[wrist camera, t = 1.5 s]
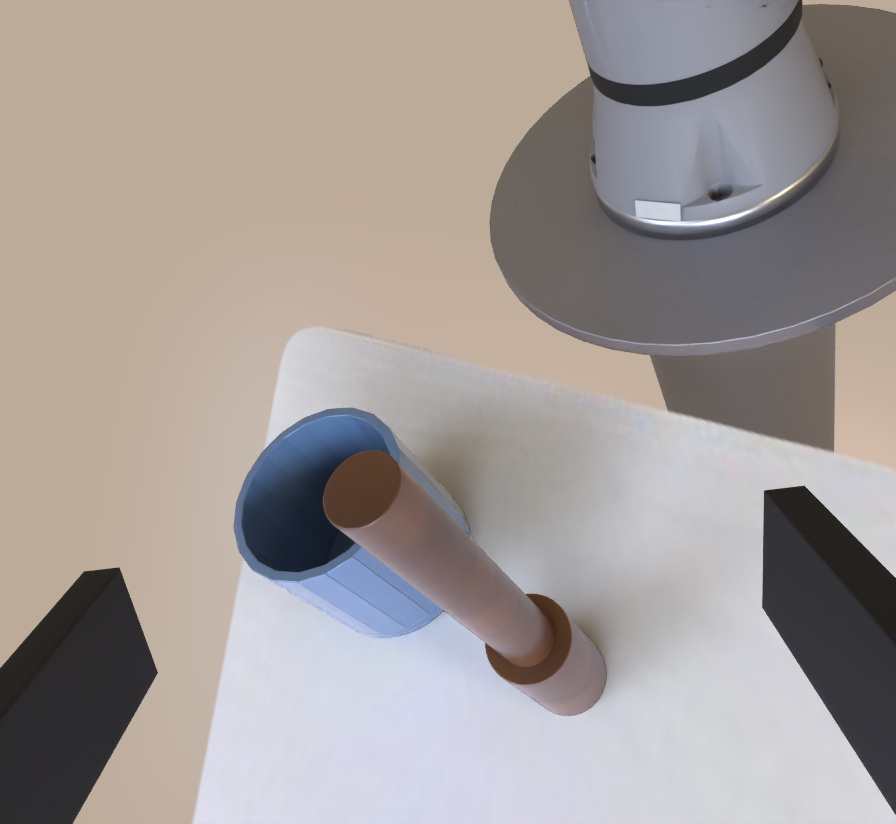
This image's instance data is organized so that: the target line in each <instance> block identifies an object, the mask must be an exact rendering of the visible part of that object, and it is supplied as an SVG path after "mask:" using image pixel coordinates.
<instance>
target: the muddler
mask: <svg viewBox="0 0 896 824" xmlns="http://www.w3.org/2000/svg"><path fill="white" fill-rule="evenodd" d="M323 507H324V511H325V514H326V517H327V519H328V520H329V521H330V523H331V524H333V525H334V526H335V527H336V528H338V529H339V530H340V531H341V532H343V533H344V534H345V535H347V536H348V537H349V538H350V539H352V540H353V541H354V542H356V543H357V544H358V545H360V546H361V547H362V548H363V549H365V550H366V551H367V552H369V553H370V554H371V555H372V556H374V557H375V558H376V559H378V560H379V561H380V562H382V563H383V564H384V565H385V566H387V567H388V568H389V569H391V570H392V571H393V572H394V573H396V574H397V575H398V576H400V577H401V578H402V579H403V580H405V581H406V582H407V583H409V584H410V585H411V586H413V587H414V588H415V589H416V590H418V591H419V592H420V593H422V594H423V595H424V596H425V597H427V598H428V599H429V600H431V601H432V602H433V603H435V604H436V605H437V606H438V607H440V608H441V609H442V610H444V611H445V612H446V613H447V614H449V615H450V616H451V617H453V618H454V619H455V620H457V621H458V622H459V623H460V624H462V625H463V626H464V627H466V628H467V629H468V630H469V631H471V632H472V633H473V634H475V635H476V636H477V637H479V638H480V639H481V640H482V641H484V642H485V648H486V653H487V657H488V660H489V662H490V664H491V666H492V667H493V669H494V670H495V671H496V673H497V674H498V675H499V676H501V677H502V678H503V679H505V680H506V681H507V682H509V683H510V684H512V685H513V686H515V687H516V688H517V689H519V690H520V691H522V692H523V693H524V694H526V695H527V696H529V697H530V698H532V699H533V700H534V701H536V702H537V703H539V704H540V705H541V706H543V707H544V708H546V709H547V710H549V711H551V712H553V713H555V714H558V715H563V716H571V715H577V714H580V713H582V712H585V711H586V710H588V709H589V708H591V707H592V706H593V705H594V704H595V703H596V702H597V701H598V699H599V698H600V696H601V694H602V692H603V690H604V687H605V683H606V665H605V662H604V659H603V656H602V654H601V653H600V651H599V650H598V648H597V647H596V646H595V645H594V644H593V642H592V641H591V640H590V639H589V638H588V637H587V636H586V635H585V633H584V632H583V631H582V630H581V629H580V628H579V627H578V626H577V624H576V623H575V622H574V621H573V620H572V619H571V618H570V617H569V615H568V614H567V613H566V612H565V611H564V610H563V609H562V608H561V607H560V606H559V604H557V603H556V602H555V601H554V600H552V599H550V598H548V597H546V596H543V595H539V594H525V593H524V592H523V591H522V590H521V589H520V588H519V587H518V586H517V585H516V584H515V583H514V582H513V581H512V580H511V579H510V578H509V577H508V576H507V575H506V574H505V573H504V572H503V571H502V570H501V569H500V567H499V566H498V565H497V564H496V563H495V562H494V561H493V560H492V559H491V558H490V557H489V556H488V555H487V554H486V553H485V552H484V551H483V550H482V549H481V548H480V547H479V546H478V545H477V544H476V543H475V542H474V541H473V540H472V538H471V537H470V536H469V535H468V534H467V533H466V532H465V531H464V530H463V529H462V528H461V527H460V526H459V525H458V524H457V523H456V522H455V521H454V520H453V519H452V518H451V517H450V516H449V515H448V514H447V513H446V512H445V511H444V510H443V508H442V507H441V506H440V505H439V504H438V503H437V502H436V501H435V500H434V499H433V498H432V497H431V496H430V495H429V494H428V493H427V492H426V491H425V490H424V489H423V488H422V487H421V486H420V485H419V484H418V483H417V482H416V481H415V480H414V478H413V477H412V476H411V475H410V474H409V473H408V472H407V471H406V470H405V469H404V468H403V467H402V466H401V465H400V464H399V463H398V462H397V461H396V460H395V459H394V458H393V457H392V456H391V455H389V454H387V453H385V452H382V451H377V450H368V451H363V452H360V453H357V454H355V455H353V456H351V457H350V458H348V459H346V460H345V461H344V462H343V463H342V464H341V465H339V466H338V468H337V469H336V470H335V471H334V472H333V474H332V475H331V477H330V479H329V480H328V482H327V485H326V487H325V491H324V495H323Z"/></svg>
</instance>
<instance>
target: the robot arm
mask: <svg viewBox="0 0 896 824" xmlns="http://www.w3.org/2000/svg"><path fill="white" fill-rule="evenodd" d="M569 2H570V6H571V9H572V13H573V16H574V20H575V23H576V27H577V30H578V33H579V37H580V40H581V44H582V47H583V50H584V54H585V57H586V61H587V63H588V67H589V71H590V74H591V78H592V82H593V86H594V98H593V117H592V127H593V139H592V143H591V148H590V160H589V163H590V176H591V180H592V183H593V186H594V190H595V193H596V196H597V199H598V202H599V204H600V206H601V208H602V209H603V211H604V212H605V213H606V215H607V216H608V217H609V218H610V219H611V220H613V221H614V222H615V223H617V224H618V225H619V226H621V227H623V228H625V229H626V230H629V231H631V232H633V233H636V234H639V235H642V236H646V237H651V238H656V239H663V240H696V239H705V238H711V237H716V236H721V235H725V234H729V233H733V232H736V231H739V230H742V229H745V228H748V227H751V226H753V225H756V224H758V223H760V222H762V221H765V220H767V219H769V218H771V217H773V216H774V215H776V214H778V213H780V212H781V211H783V210H785V209H786V208H788V207H790V206H791V205H792V204H794V203H795V202H797V201H798V200H799V199H801V198H802V197H803V196H804V195H805V194H806V193H808V192H809V191H810V190H811V189H812V188H813V187H814V186H815V185H816V184H817V183H818V181H819V180H820V179H821V178H822V177H823V175H824V174H825V173H826V171H827V170H828V168H829V167H830V165H831V163H832V161H833V159H834V157H835V154H836V151H837V149H838V144H839V134H840V108H839V102H838V99H837V96H836V92H835V89H834V87H833V85H832V83H831V82H830V80H829V78H828V76H827V74H826V73H825V72H824V71H823V69H822V66H823V62H822V60H821V59H820V58H818V56H817V53H816V51H815V48H814V46H813V43H812V41H811V39H810V36H809V34H808V31H807V29H806V27H805V24H804V21H803V12H802V0H569ZM762 608H763V609H764V611H765V612H766V614H767V615H768V617H769V618H770V620H771V622H772V623H773V625H774V626H775V628H776V629H777V631H778V632H779V634H780V636H781V637H782V639H783V640H784V642H785V643H786V645H787V646H788V648H789V650H790V651H791V653H792V654H793V656H794V657H795V659H796V660H797V662H798V664H799V665H800V667H801V668H802V670H803V671H804V673H805V674H806V676H807V678H808V679H809V681H810V682H811V684H812V685H813V687H814V688H815V690H816V692H817V693H818V695H819V696H820V698H821V699H822V701H823V702H824V704H825V706H826V707H827V709H828V710H829V712H830V713H831V715H832V716H833V718H834V720H835V721H836V723H837V724H838V726H839V727H840V729H841V730H842V732H843V734H844V735H845V737H846V738H847V740H848V741H849V743H850V745H851V746H852V748H853V749H854V751H855V752H856V754H857V755H858V757H859V759H860V760H861V762H862V763H863V765H864V766H865V768H866V769H867V771H868V773H869V774H870V776H871V777H872V779H873V780H874V782H875V783H876V785H877V787H878V788H879V790H880V791H881V793H882V794H883V796H884V797H885V799H886V801H887V802H888V804H889V805H890V807H891V808H892V810H893V811H894V813H895V815H896V578H895V577H894V576H893V575H892V574H891V573H890V572H889V571H888V570H887V569H886V568H885V567H884V566H883V565H882V564H881V563H880V562H879V561H878V560H877V559H876V558H875V557H874V556H873V555H872V554H871V553H870V552H869V551H868V550H867V549H866V548H865V547H864V546H863V545H862V544H861V543H860V542H859V541H858V540H857V539H856V538H855V537H854V536H853V535H852V534H851V533H850V531H849V530H848V529H847V528H846V527H845V526H844V525H843V524H842V523H841V522H840V521H839V520H838V519H837V518H836V517H835V516H834V515H833V514H832V513H831V512H830V511H829V510H828V509H827V508H826V507H825V506H824V505H823V504H822V503H821V502H820V501H819V500H818V499H817V498H816V497H815V496H814V495H813V494H812V493H811V492H810V491H809V490H808V489H807V488H806V487H805V486H799V487H790V488H782V489H774V490H765V491H764V535H763V599H762ZM157 673H158V672H157V669H156V667H155V664H154V661H153V658H152V655H151V653H150V650H149V647H148V645H147V642H146V639H145V636H144V633H143V631H142V628H141V625H140V623H139V620H138V617H137V614H136V612H135V609H134V606H133V603H132V601H131V598H130V595H129V593H128V590H127V587H126V584H125V582H124V579H123V576H122V573H121V571H120V568H111V569H103V570H94V571H86V572H83V574H82V575H81V576H80V577H79V578H78V579H77V580H76V582H75V583H74V584H73V585H72V586H71V587H70V589H69V590H68V591H67V592H66V593H65V594H64V595H63V597H62V598H61V599H60V600H59V601H58V602H57V604H56V605H55V606H54V607H53V608H52V609H51V610H50V612H49V613H48V614H47V615H46V616H45V617H44V618H43V620H42V621H41V622H40V623H39V624H38V625H37V627H36V628H35V629H34V630H33V631H32V632H31V634H30V635H29V636H28V637H27V638H26V639H25V640H24V641H23V643H22V644H21V645H20V646H19V647H18V648H17V650H16V651H15V652H14V653H13V654H12V655H11V656H10V658H9V659H8V660H7V661H6V662H5V663H4V665H3V666H2V667H1V668H0V824H73V822H74V820H75V818H76V816H77V815H78V813H79V811H80V809H81V808H82V806H83V804H84V802H85V801H86V799H87V797H88V795H89V793H90V792H91V790H92V788H93V786H94V785H95V783H96V781H97V780H98V778H99V776H100V774H101V772H102V771H103V769H104V767H105V765H106V763H107V762H108V760H109V758H110V757H111V755H112V753H113V751H114V749H115V748H116V746H117V744H118V742H119V741H120V739H121V737H122V735H123V733H124V732H125V730H126V728H127V727H128V725H129V723H130V721H131V719H132V718H133V716H134V714H135V712H136V711H137V709H138V707H139V705H140V704H141V702H142V700H143V698H144V696H145V695H146V693H147V691H148V689H149V688H150V686H151V684H152V682H153V680H154V679H155V677H156V675H157Z"/></svg>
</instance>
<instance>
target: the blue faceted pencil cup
mask: <svg viewBox="0 0 896 824" xmlns="http://www.w3.org/2000/svg"><path fill="white" fill-rule="evenodd" d="M368 450H377V451H382V452H385V453H387V454H389V455H391V456H392V457H393V458H394V459H395V460H396V461H397V462H398V463H399V464H400V465H401V466H402V467H403V468H404V469H405V470H406V471H407V472H408V473H409V474H410V475H411V476H412V477H413V478H414V480H415V481H416V482H417V483H418V484H419V485H420V486H421V487H422V488H423V489H424V490H425V491H426V492H427V493H428V494H429V495H430V496H431V497H432V498H433V499H434V500H435V501H436V502H437V503H438V504H439V505H440V506H441V507H442V508H443V510H444V511H445V512H446V513H447V514H448V515H449V516H450V517H451V518H452V519H453V520H454V521H455V522H456V523H457V524H458V525H459V526H460V527H461V528H462V529H463V530H464V531H465V532H466V533H467V534H468V535H469V536H470V537H471V534H470V528H469V525H468V521H467V519H466V517H465V514H464V512H463V511H462V509H461V508H460V506H459V505H458V503H457V502H456V501H455V499H454V498H453V497H452V496H451V495H450V494H449V492H448V491H447V490H446V489H445V488H444V487H443V486H442V485H441V484H440V483H439V482H438V480H437V479H436V478H435V477H434V476H433V475H432V474H431V473H430V472H429V471H428V470H427V468H426V467H425V466H424V465H423V464H422V463H421V462H420V461H419V460H418V459H417V457H416V456H415V455H414V454H413V453H412V452H411V451H410V450H409V449H408V448H407V447H406V445H405V444H404V443H403V442H402V441H401V440H400V439H399V438H398V437H397V436H396V435H395V433H394V432H393V431H392V430H391V429H390V428H389V427H388V426H387V425H386V424H384V423H383V422H382V421H381V420H380V419H379V418H377V417H376V416H375V415H374V414H372V413H369V412H365V411H362V410H358V409H355V408H336V409H327V410H324V411H321V412H319V413H316V414H313V415H310V416H308V417H305V418H303V419H301V420H300V421H298V422H297V423H295V424H294V425H292V426H291V427H289V428H288V429H286V430H285V431H283V432H282V433H281V434H280V435H279V436H278V437H277V438H276V439H275V440H274V441H273V442H272V443H271V444H270V445H269V446H268V447H267V448H266V449H265V450H264V451H263V452H262V453H261V454H260V456H259V457H258V459H257V460H256V462H255V464H254V465H253V467H252V468H251V470H250V471H249V473H248V474H247V476H246V478H245V480H244V483H243V486H242V488H241V491H240V494H239V496H238V499H237V503H236V509H235V519H234V532H235V536H236V541H237V546H238V550H239V552H240V554H241V555H242V557H243V558H244V560H245V561H246V562H247V564H248V565H249V567H250V568H251V569H252V570H253V571H254V572H256V573H258V574H260V575H261V576H263V577H265V578H266V579H268V580H270V581H272V582H273V583H275V584H277V585H278V586H280V587H282V588H283V589H285V590H287V591H289V592H290V593H292V594H294V595H295V596H297V597H299V598H300V599H302V600H304V601H306V602H307V603H309V604H311V605H312V606H314V607H316V608H318V609H319V610H321V611H323V612H324V613H326V614H328V615H329V616H331V617H333V618H335V619H336V620H338V621H340V622H341V623H343V624H345V625H347V626H349V627H351V628H352V629H354V630H356V631H358V632H360V633H362V634H365V635H368V636H372V637H379V638H389V637H396V636H401V635H404V634H408V633H411V632H413V631H415V630H417V629H419V628H421V627H423V626H424V625H426V624H428V623H429V622H431V621H432V620H433V619H434V618H436V617H437V616H438V615H439V614H440V613H441V612H442V611H443V610H442V609H441V608H440V607H438V606H437V605H436V604H435V603H433V602H432V601H431V600H429V599H428V598H427V597H425V596H424V595H423V594H422V593H420V592H419V591H418V590H416V589H415V588H414V587H413V586H411V585H410V584H409V583H407V582H406V581H405V580H403V579H402V578H401V577H400V576H398V575H397V574H396V573H394V572H393V571H392V570H391V569H389V568H388V567H387V566H385V565H384V564H383V563H382V562H380V561H379V560H378V559H376V558H375V557H374V556H372V555H371V554H370V553H369V552H367V551H366V550H365V549H363V548H362V547H361V546H360V545H358V544H357V543H356V542H354V541H353V540H352V539H350V538H349V537H348V536H347V535H345V534H344V533H343V532H341V531H340V530H339V529H338V528H336V527H335V526H334V525H333V524H331V523H330V521H329V520H328V519H327V517H326V514H325V511H324V507H323V495H324V491H325V487H326V485H327V482H328V480H329V479H330V477H331V475H332V474H333V472H334V471H335V470H336V469H337V468H338V466H339V465H341V464H342V463H343V462H344V461H345V460H346V459H348V458H350V457H351V456H353V455H355V454H357V453H360V452H363V451H368Z"/></svg>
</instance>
